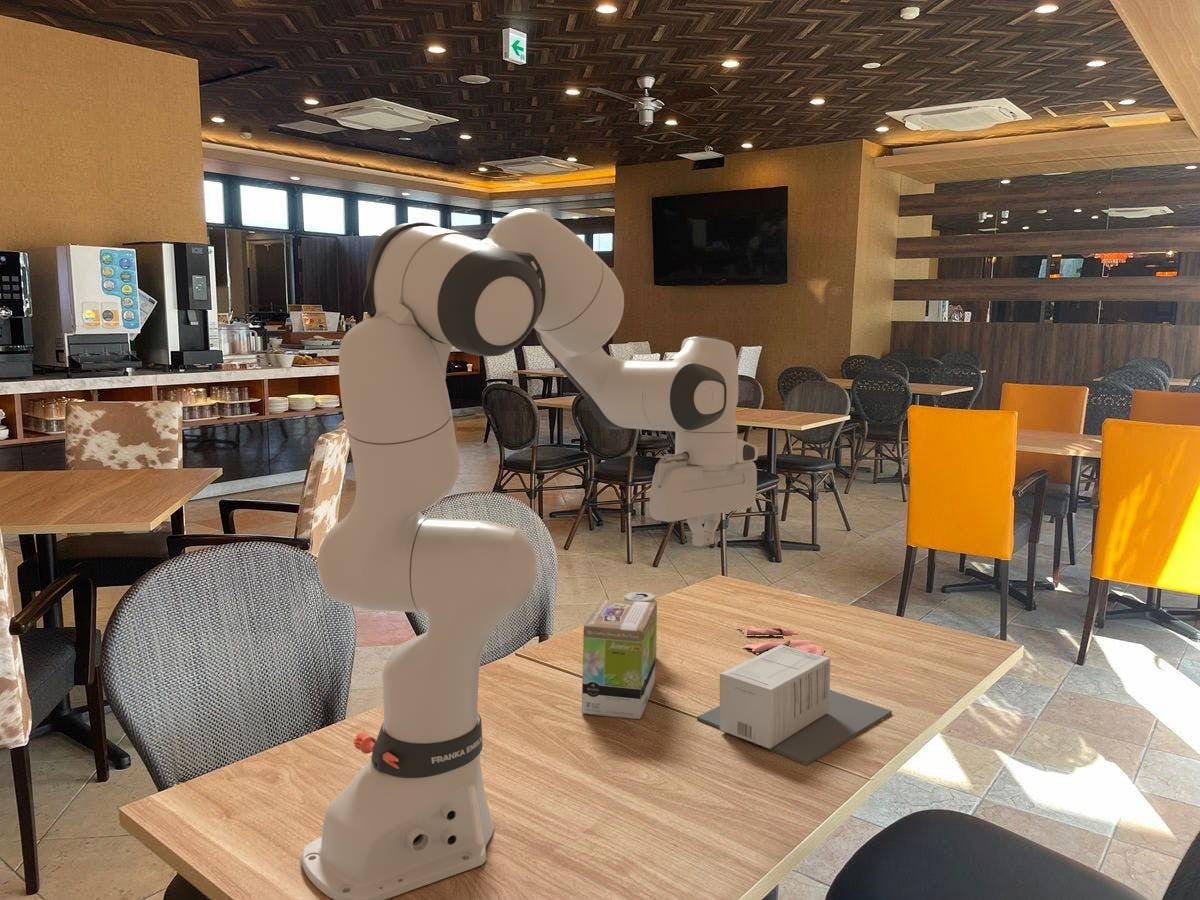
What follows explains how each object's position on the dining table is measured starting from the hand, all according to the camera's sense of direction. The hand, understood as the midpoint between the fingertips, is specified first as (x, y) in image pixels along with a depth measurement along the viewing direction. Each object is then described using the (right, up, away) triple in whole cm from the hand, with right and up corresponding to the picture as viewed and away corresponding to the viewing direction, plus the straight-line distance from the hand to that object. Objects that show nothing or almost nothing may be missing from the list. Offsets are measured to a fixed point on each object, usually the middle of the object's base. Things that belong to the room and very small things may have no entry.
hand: (703, 544), depth 130 cm
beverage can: (-8, -25, +35) cm, 43 cm away
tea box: (-12, -28, +17) cm, 35 cm away
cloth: (+18, -24, +44) cm, 53 cm away
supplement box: (+6, -25, +1) cm, 25 cm away
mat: (+16, -28, +10) cm, 34 cm away
